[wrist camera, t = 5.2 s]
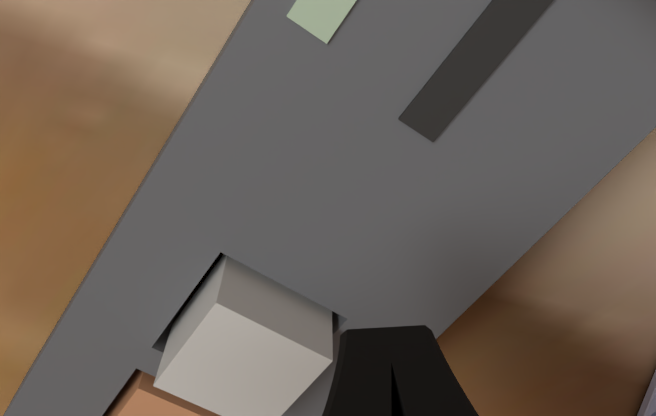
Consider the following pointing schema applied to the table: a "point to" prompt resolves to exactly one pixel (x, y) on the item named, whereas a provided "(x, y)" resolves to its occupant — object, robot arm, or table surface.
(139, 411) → the orange button
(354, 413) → the robot arm
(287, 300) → the grey button
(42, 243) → the table surface
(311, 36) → the switch panel
